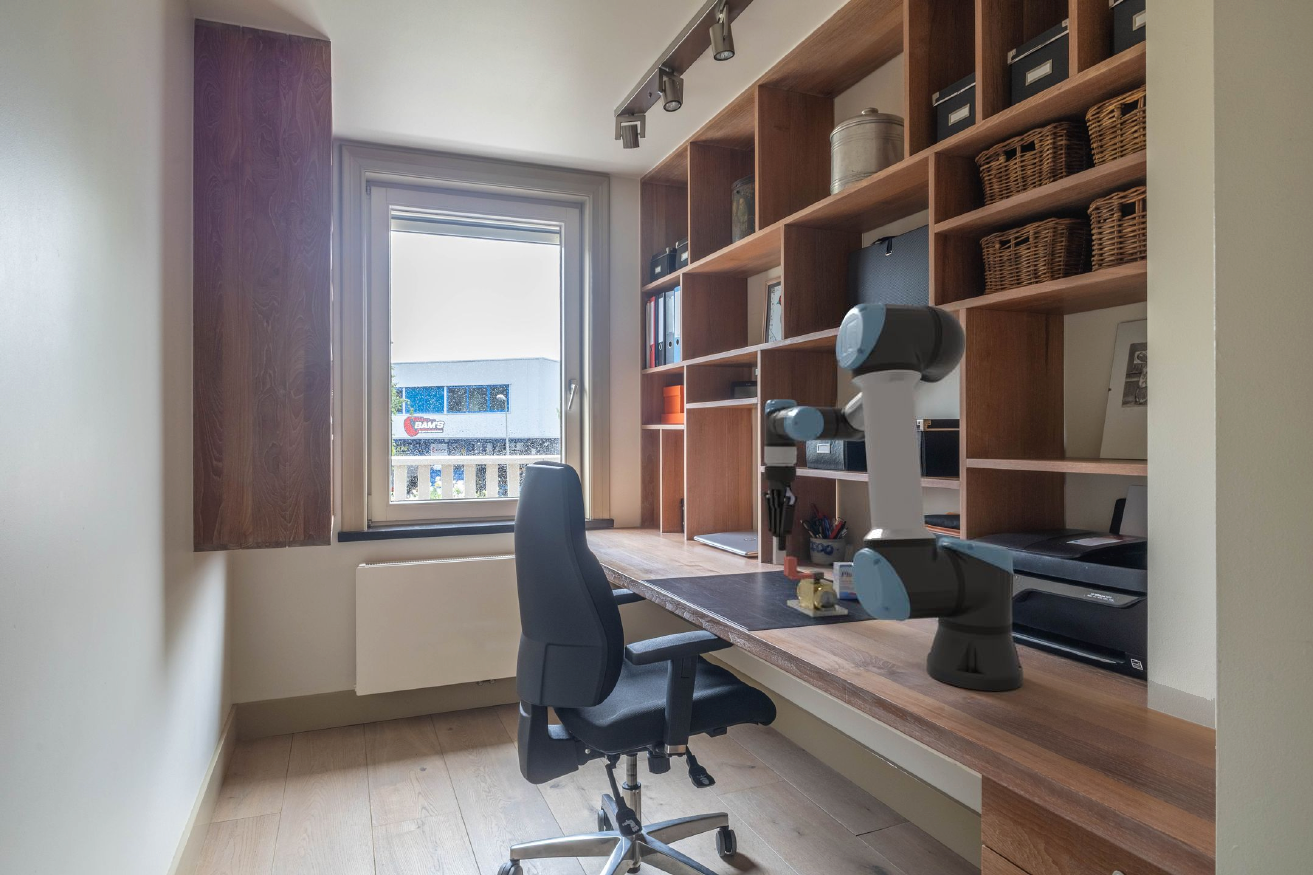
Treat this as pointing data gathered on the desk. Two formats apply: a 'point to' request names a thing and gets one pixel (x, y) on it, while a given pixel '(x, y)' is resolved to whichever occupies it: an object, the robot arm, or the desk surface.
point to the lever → (791, 572)
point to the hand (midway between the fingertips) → (779, 563)
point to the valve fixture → (817, 598)
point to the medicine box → (844, 580)
